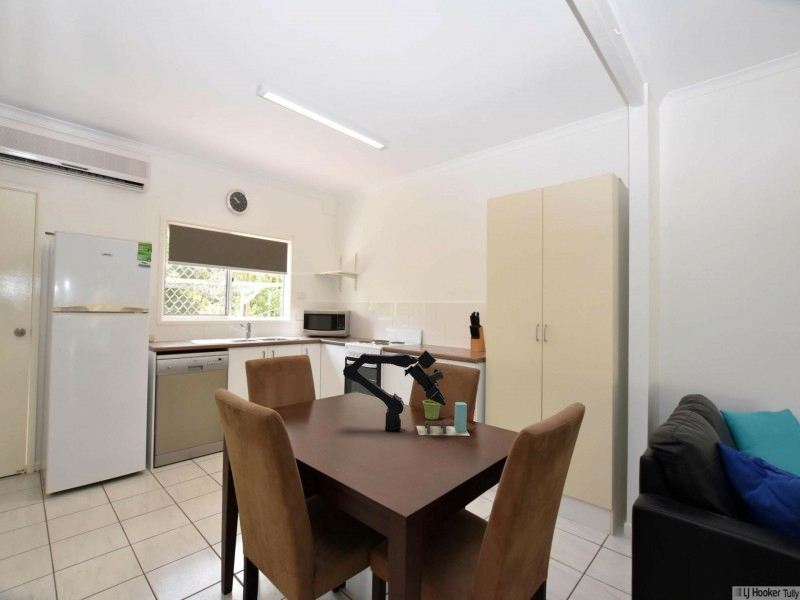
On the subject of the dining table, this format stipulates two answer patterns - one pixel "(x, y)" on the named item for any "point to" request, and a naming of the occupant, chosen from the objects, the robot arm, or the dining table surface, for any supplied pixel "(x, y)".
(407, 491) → the dining table surface
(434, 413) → the plant pot
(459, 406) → the teal post
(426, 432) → the peg board
